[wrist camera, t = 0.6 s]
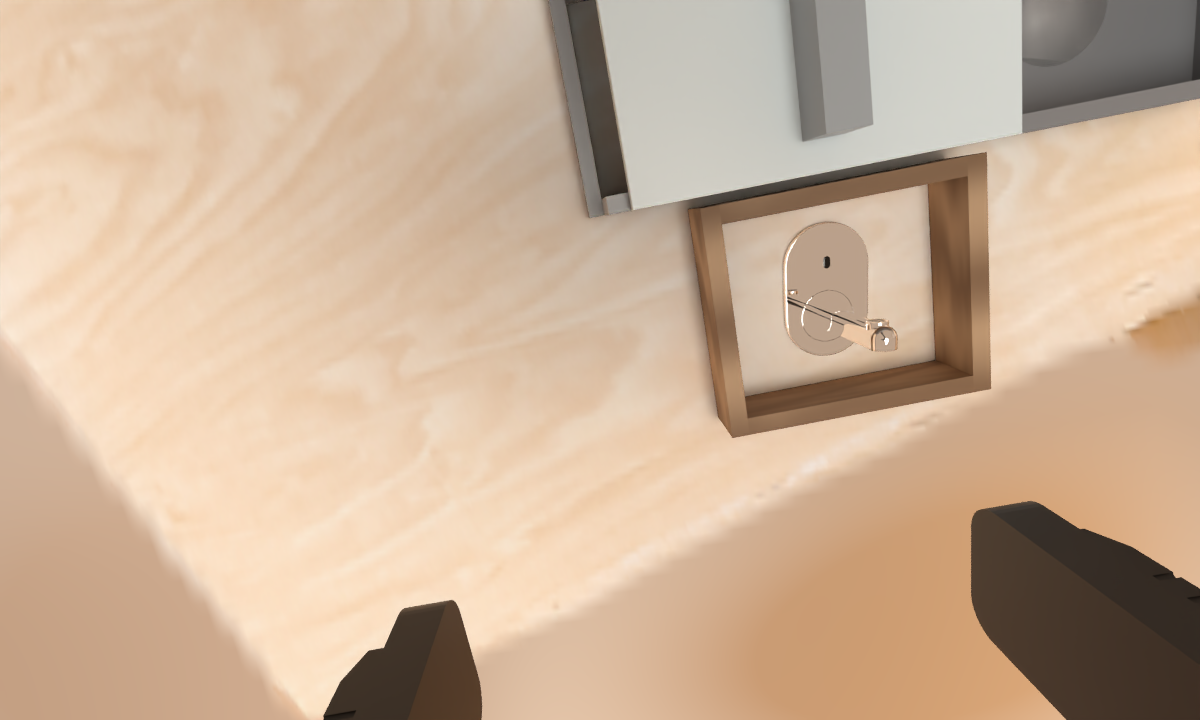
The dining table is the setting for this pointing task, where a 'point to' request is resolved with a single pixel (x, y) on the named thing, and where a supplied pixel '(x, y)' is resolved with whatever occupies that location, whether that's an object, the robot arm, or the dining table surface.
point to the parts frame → (955, 300)
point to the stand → (830, 293)
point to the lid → (801, 86)
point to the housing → (1049, 68)
